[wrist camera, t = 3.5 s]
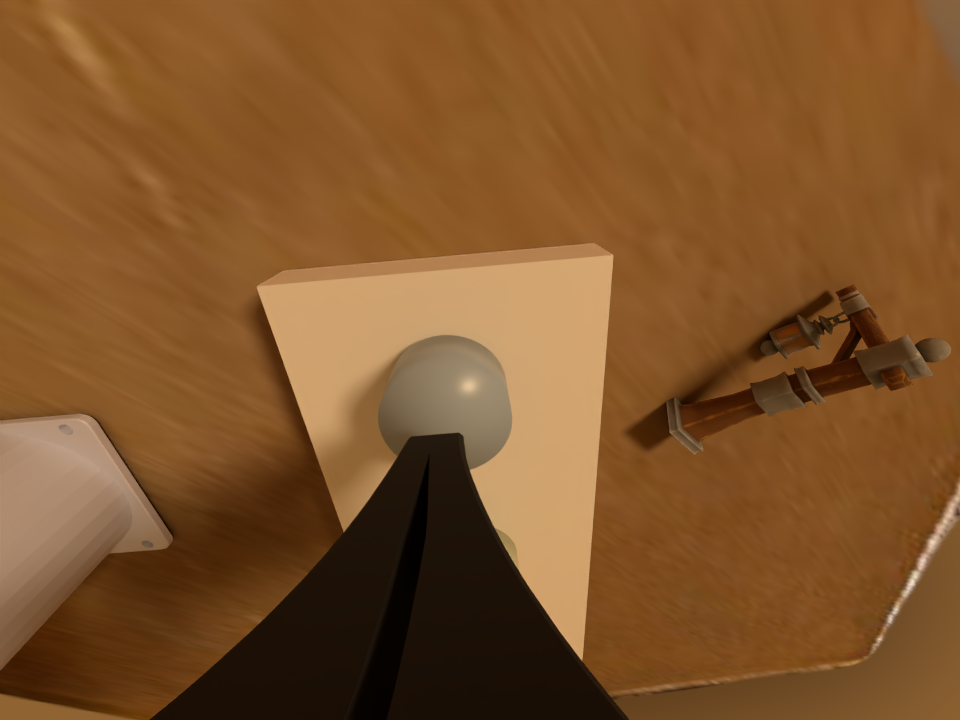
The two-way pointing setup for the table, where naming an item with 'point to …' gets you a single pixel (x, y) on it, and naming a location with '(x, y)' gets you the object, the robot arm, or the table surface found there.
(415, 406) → the slate button
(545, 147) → the table surface
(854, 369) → the wooden post with brackets
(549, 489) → the button panel
